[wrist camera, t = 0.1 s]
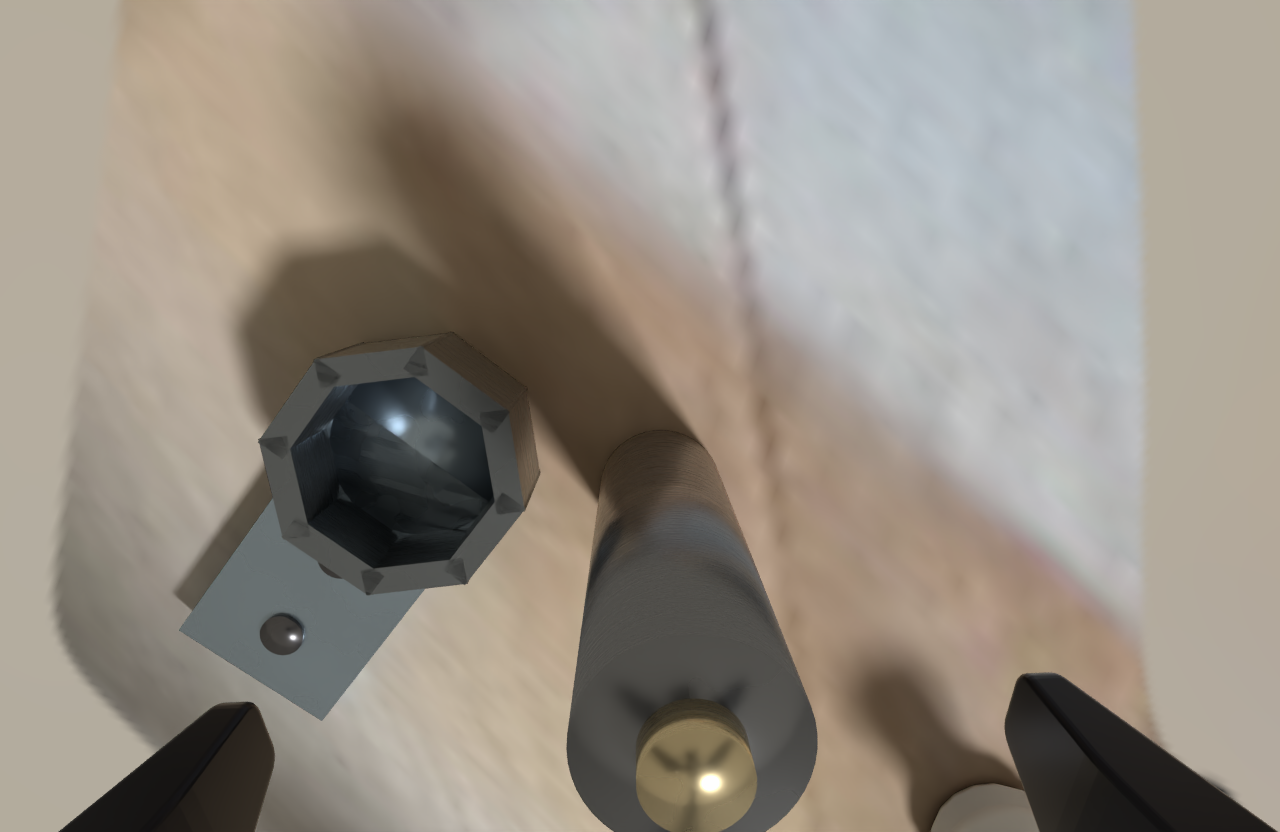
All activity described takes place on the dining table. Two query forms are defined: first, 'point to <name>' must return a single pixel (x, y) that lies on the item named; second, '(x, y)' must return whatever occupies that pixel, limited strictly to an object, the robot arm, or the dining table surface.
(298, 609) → the hinge leaf
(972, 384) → the dining table surface
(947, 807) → the rook chess piece
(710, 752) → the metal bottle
